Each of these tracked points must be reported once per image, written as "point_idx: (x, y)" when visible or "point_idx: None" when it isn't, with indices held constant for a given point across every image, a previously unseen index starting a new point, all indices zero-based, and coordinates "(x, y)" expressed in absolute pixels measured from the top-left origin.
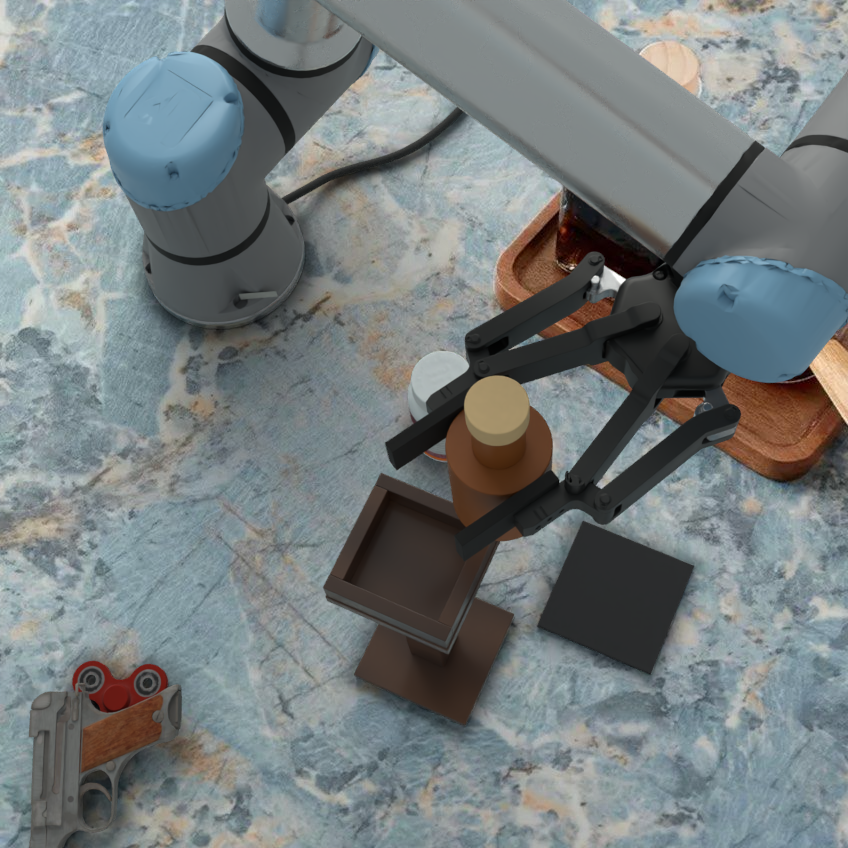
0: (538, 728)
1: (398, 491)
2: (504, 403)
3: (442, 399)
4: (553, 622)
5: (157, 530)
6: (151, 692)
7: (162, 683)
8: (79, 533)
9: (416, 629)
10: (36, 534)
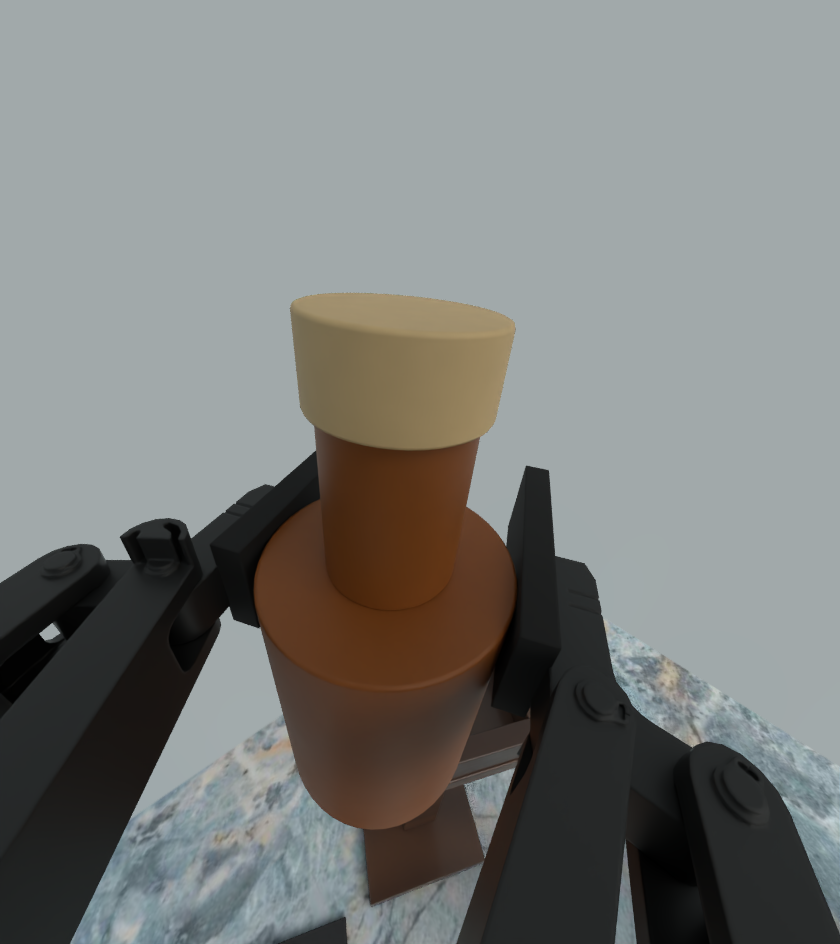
0: (302, 806)
1: (518, 725)
2: (386, 308)
3: (569, 583)
4: (331, 938)
5: None
6: None
7: None
8: (654, 690)
9: None
10: (665, 672)
